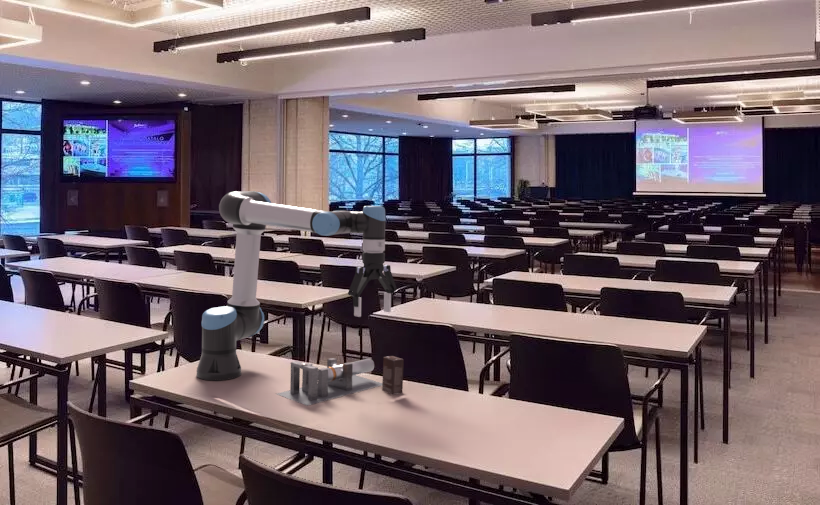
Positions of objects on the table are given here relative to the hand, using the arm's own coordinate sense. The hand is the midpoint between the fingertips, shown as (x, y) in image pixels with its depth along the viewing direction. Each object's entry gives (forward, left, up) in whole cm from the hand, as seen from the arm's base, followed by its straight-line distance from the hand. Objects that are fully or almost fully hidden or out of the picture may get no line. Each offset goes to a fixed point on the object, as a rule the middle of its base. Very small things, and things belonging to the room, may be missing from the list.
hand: (372, 314), depth 232 cm
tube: (-3, -9, -21) cm, 23 cm away
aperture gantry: (-3, -27, -24) cm, 36 cm away
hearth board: (-3, -15, -25) cm, 29 cm away
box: (+12, -2, -25) cm, 28 cm away
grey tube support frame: (-3, -12, -24) cm, 27 cm away
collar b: (-3, -22, -24) cm, 33 cm away
